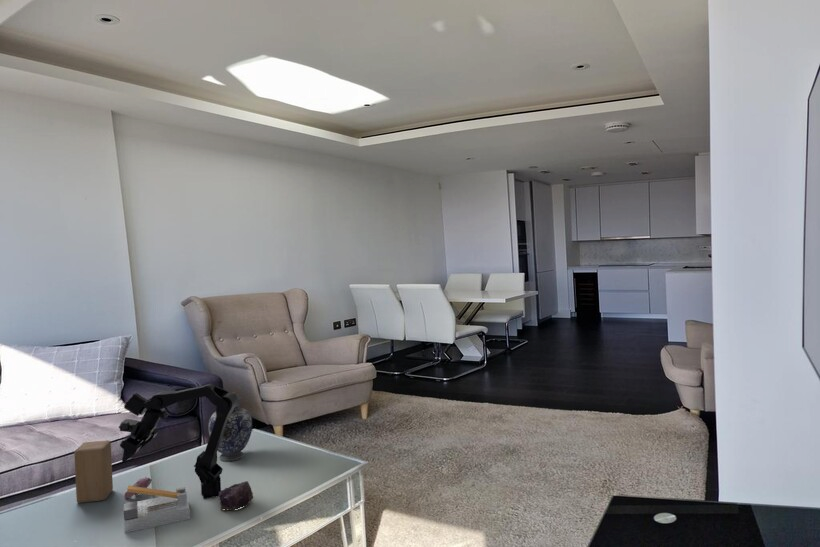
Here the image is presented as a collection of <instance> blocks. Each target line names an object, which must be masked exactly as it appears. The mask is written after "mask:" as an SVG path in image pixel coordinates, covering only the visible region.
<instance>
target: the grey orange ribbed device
mask: <svg viewBox="0 0 820 547" xmlns="http://www.w3.org/2000/svg"><path fill="white" fill-rule="evenodd" d="M175 492H179V493H181V492H182V493H181V494H177V498H170V497H163V496H157V497H154V498H149V499H143V500H139V501H138V500H136V501H137V509H138V517H137V518H132V519H127V520H124V519H123V527H124V528H123V529H124V534H126V532H127V533H131V532H136V531H139V530H140V531H141V530H145V529H150V528H154V527H159V526H165V525H167V524H172V523H179V522H182V521H189V520H190V519H191V516H190V514H191V513H190V504H189V498H188V493H187V492H186V487H180V488H175Z"/></svg>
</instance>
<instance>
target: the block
mask: <svg viewBox="0 0 820 547" xmlns="http://www.w3.org/2000/svg"><path fill="white" fill-rule="evenodd" d="M73 453H74V455H73V456H74V471H75V472H74V473H75V495H76V496H75V497H76V502H77V504H80V503H89V502H90V503H92V502H101V500H102V501H105V500H106V499H107V498H108V497H109V495H111V494H110V493H112V491H113V489H114V484H113V464H112V463H113V462H112V460H113V459H112V443H111V441H110V440H98V441H85V442H83V443H82V444H81V445H80V446H78V447H77V448H76V449H75V450H74V451H73Z"/></svg>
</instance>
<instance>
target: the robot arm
mask: <svg viewBox="0 0 820 547" xmlns="http://www.w3.org/2000/svg"><path fill="white" fill-rule="evenodd" d="M204 397H205V398H207V400H209V401H210V403H212V404H213V405H214V406H215V412H216V420H215V423H214V426H213V429H212V432H211V435H209V438H208V442H207V444H206V447H205V449H204V450H203V451H202V452H201V453H200V454H198V455H197V458H196V462H195V464H194V465H193V467H194V473H195V474H196V476H197V477H198V478H199V482H200V495H201V496H202V498H203V499H205V500H206V499H210V498H216V496H217V497H219V492H220V491H222V485H221V484H222V482H221V475H222V473H223V468H222V466H221V465H220V464H219V463H217V462H218V451H217V450H218V447H219V444H220V441H221V438H222V435H223V432H224V429H225V426H226V423H227V420H228V418H229V416H230V415H231V413H232V412H233V410H234V408H235V406H236V405H237V403H238V404H239V402H238V398H237V396H236V395H235V394H233V392H229V390H226V389H223V388H221V387H218V386H216V385H215V384H214V383H207V384H205V385H200V386H196V387H191V388H187V389H186V388H185V389H181V390H162V391H159V392H158V393H156V394H154V395H152V397H151V398H149V399H147V398H145V397H143V396H142V395H141V394H140V393H138V392H136V393H134V394H132V396H131V397H130V398H129V399H128V400H127V401H126V402H125V404H124V406H123V408H124V410H127V411H128V412H130V413H131V414H133V415H135V416H136V417H138V416H140V415H141V416H142V415H143V416H142V417H141V420H137V419H130V418H125V419H124V420H122V421H121V422H120V424H119V426H118V429H119V431H120V432H125V433H126V432H127V433H130V435H131V436H134V438H133V437H131V436H128V437H125V438H124V439H122V441H121V443H120V444H119V447H121V449H123V453H122V457H121V458H122V459H121V462H122V463H125V462H127V461H128V460H129V459H131V458H132V457H133V456H134V455H135V454H136V453H138V452H139V451H140V450H141V449H143V447H145V446H146V445H147V444H148V443H150V442H151V441H152V440H153V439H155V437H157V434H158V433H159V430H158V428H157V426H158V422H159V421H160V419H165V418H167V417H168V416H169V414H168V412H167V409H165V408H167V407H170V406H172V405H174V404H176V403H179V402H185V401H190V400H194V399H195V400H196V399H199V398H204Z"/></svg>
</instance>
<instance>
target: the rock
mask: <svg viewBox="0 0 820 547" xmlns="http://www.w3.org/2000/svg"><path fill="white" fill-rule="evenodd" d="M253 494H254V493H253V491H252V487H251V485H250V483H249V481H247V480H246V481H244V482H243V481H242V482H239V483H233V485H230V486H228V487H225V488H224V489H221V491H220V492H219V496H218V498H219V505H220V509H221V510H222V509H225V510H224V511H228V510H227V509H231V511H234V510H235V509H238V508H240V507H243V506H245V507H246V505H247V506H249V505H250V503H251V501H252V500H254V495H253ZM238 510H239V509H238Z"/></svg>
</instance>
